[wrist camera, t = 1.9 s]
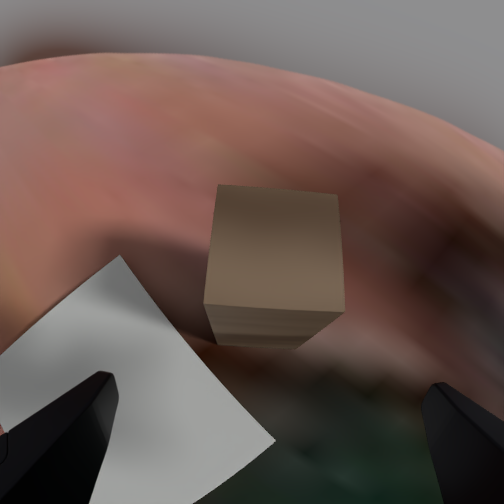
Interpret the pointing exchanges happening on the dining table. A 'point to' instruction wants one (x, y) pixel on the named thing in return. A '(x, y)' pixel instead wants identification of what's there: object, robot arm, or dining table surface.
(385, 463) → the dining table surface
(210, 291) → the walnut block
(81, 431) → the robot arm
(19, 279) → the dining table surface
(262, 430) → the grey mat
